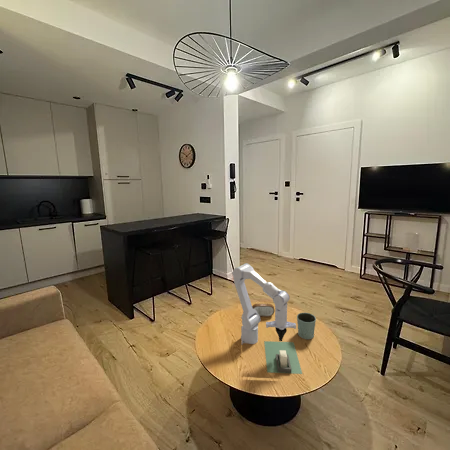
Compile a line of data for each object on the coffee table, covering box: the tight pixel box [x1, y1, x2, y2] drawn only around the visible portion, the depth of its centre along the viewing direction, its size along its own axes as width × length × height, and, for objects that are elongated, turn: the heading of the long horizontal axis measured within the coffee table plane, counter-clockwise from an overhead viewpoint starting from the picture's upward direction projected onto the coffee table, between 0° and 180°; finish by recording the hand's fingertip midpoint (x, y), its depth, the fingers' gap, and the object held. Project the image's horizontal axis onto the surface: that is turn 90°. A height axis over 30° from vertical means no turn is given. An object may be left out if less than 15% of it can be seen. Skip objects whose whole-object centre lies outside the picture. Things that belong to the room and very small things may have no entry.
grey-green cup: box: [296, 312, 317, 340], centre depth 140 cm, size 10×10×12 cm
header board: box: [263, 340, 303, 375], centre depth 124 cm, size 16×22×3 cm
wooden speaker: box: [252, 303, 275, 317], centre depth 162 cm, size 15×3×8 cm, turn 87°
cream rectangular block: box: [279, 350, 287, 368], centre depth 119 cm, size 3×5×6 cm, turn 175°
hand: (280, 339), depth 124 cm, fingers closed
